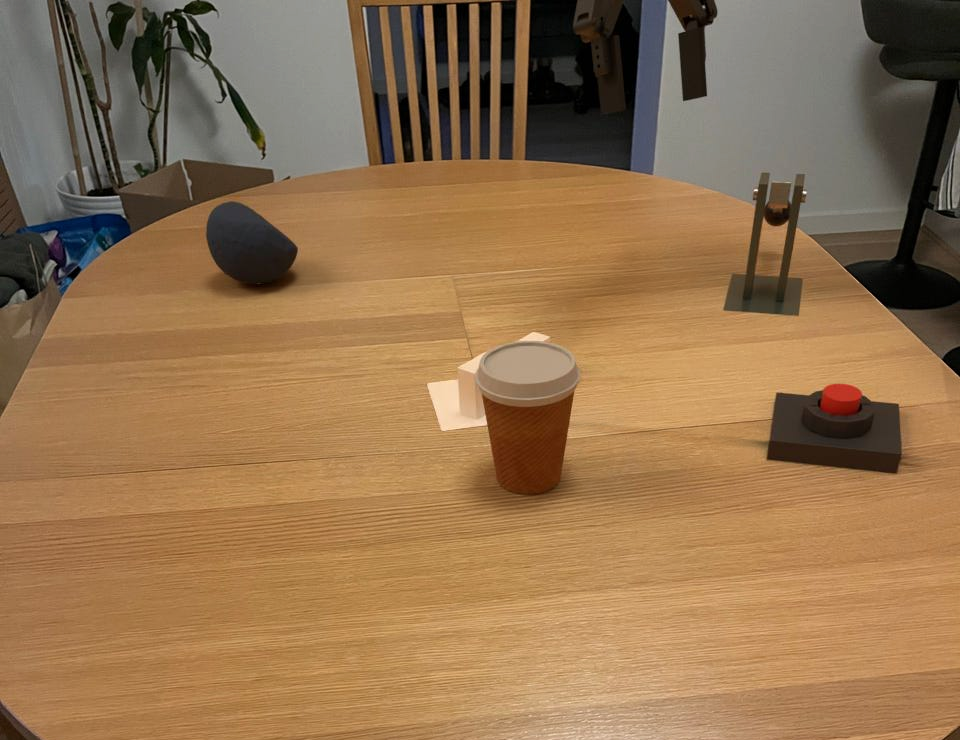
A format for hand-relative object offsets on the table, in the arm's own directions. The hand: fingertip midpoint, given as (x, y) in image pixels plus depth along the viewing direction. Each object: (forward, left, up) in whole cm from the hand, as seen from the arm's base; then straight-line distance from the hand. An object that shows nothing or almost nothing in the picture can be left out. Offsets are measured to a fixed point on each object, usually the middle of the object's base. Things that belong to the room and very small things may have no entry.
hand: (655, 105), depth 102 cm
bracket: (-14, -10, -24) cm, 30 cm away
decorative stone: (+54, -5, -25) cm, 59 cm away
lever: (-14, -15, -16) cm, 26 cm away
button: (-23, +23, -21) cm, 39 cm away
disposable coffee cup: (+5, +36, -25) cm, 44 cm away
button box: (-23, +23, -24) cm, 41 cm away
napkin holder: (+12, +21, -25) cm, 35 cm away
